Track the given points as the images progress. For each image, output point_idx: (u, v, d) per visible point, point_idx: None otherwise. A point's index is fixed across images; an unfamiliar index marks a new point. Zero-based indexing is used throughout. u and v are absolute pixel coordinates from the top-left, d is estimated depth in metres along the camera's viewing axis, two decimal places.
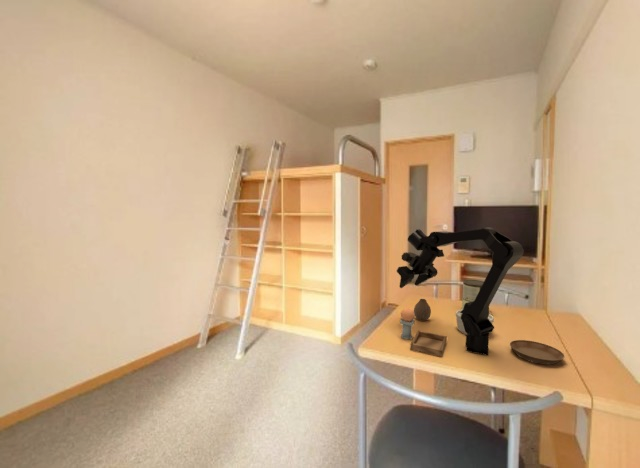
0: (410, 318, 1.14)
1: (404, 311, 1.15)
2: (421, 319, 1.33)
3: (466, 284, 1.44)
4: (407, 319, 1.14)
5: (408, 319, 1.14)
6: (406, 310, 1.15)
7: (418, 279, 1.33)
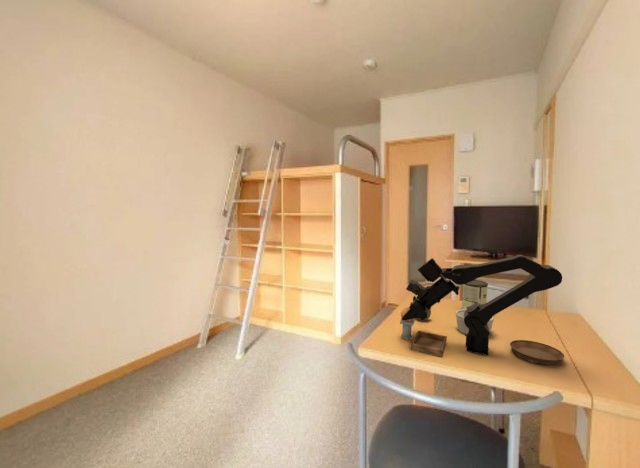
0: None
1: (404, 311, 1.15)
2: None
3: (466, 284, 1.44)
4: None
5: None
6: (406, 310, 1.15)
7: None
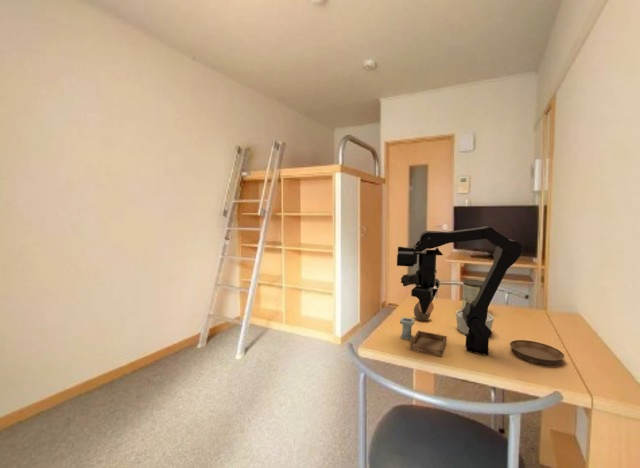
0: None
1: (419, 305, 1.10)
2: (421, 319, 1.33)
3: (466, 284, 1.44)
4: (427, 310, 1.08)
5: (428, 309, 1.08)
6: None
7: None
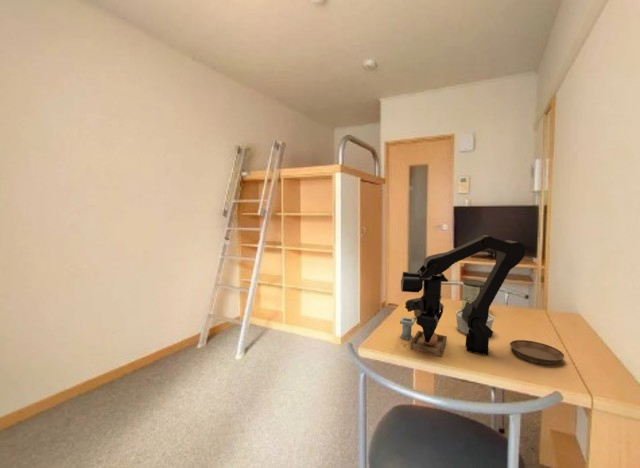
0: (432, 339, 1.07)
1: (423, 337, 1.09)
2: None
3: (466, 284, 1.44)
4: (431, 342, 1.07)
5: (432, 341, 1.07)
6: None
7: None
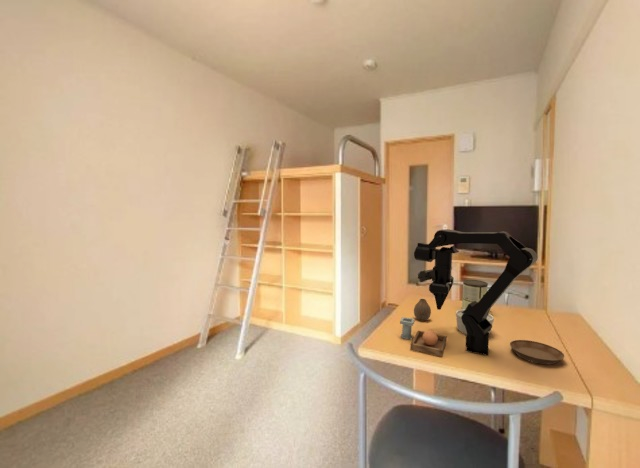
0: (433, 338, 1.07)
1: (423, 337, 1.09)
2: (421, 319, 1.33)
3: (466, 284, 1.44)
4: (431, 342, 1.07)
5: (432, 341, 1.07)
6: (424, 334, 1.09)
7: None
